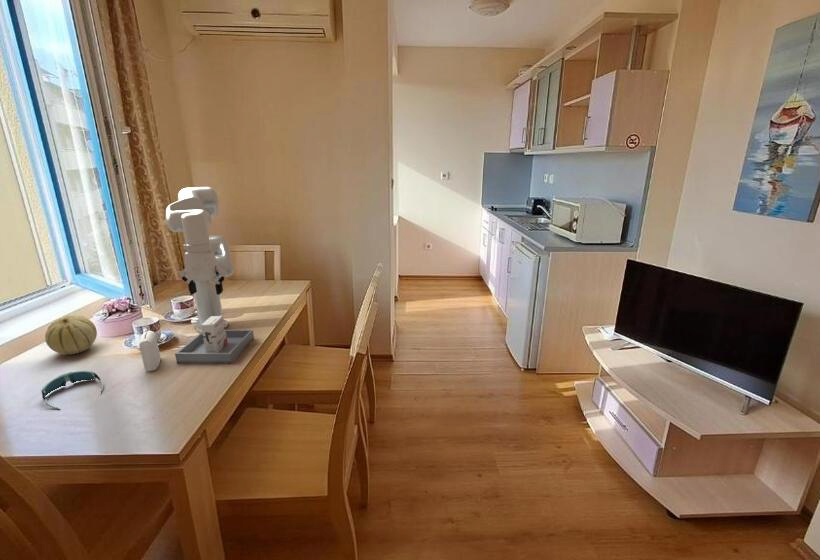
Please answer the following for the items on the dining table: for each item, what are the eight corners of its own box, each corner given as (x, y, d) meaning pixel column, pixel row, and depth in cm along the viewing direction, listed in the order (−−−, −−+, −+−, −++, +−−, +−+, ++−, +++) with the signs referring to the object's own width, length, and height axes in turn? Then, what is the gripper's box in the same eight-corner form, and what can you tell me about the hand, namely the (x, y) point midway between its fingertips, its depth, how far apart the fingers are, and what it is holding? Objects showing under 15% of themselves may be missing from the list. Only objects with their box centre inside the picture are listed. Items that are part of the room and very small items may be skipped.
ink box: (215, 342, 152) (210, 315, 148) (228, 342, 152) (223, 315, 148) (205, 353, 144) (199, 324, 140) (218, 353, 144) (213, 324, 140)
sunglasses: (95, 376, 131) (92, 364, 129) (110, 397, 123) (107, 384, 121) (39, 395, 121) (35, 382, 119) (52, 419, 113) (48, 406, 111)
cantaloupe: (93, 339, 157) (83, 305, 153) (107, 349, 149) (97, 313, 145) (46, 354, 146) (34, 318, 141) (58, 365, 138) (45, 327, 133)
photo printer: (148, 359, 142) (141, 329, 138) (162, 357, 143) (155, 326, 139) (144, 373, 133) (136, 340, 129) (158, 370, 134) (151, 338, 131)
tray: (176, 363, 139) (174, 353, 138) (206, 338, 158) (204, 329, 157) (231, 363, 138) (229, 354, 137) (254, 338, 157) (252, 329, 156)
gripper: (168, 250, 132) (177, 297, 138) (217, 250, 132) (225, 297, 137) (180, 245, 139) (189, 289, 145) (227, 245, 139) (234, 290, 144)
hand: (206, 293), depth 141 cm, fingers open, 9 cm apart
